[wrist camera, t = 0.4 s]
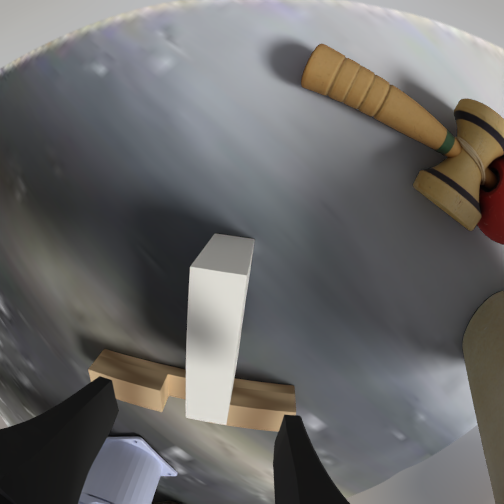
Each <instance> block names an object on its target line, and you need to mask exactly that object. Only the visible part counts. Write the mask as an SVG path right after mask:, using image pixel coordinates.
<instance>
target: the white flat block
mask: <svg viewBox="0 0 504 504" xmlns="http://www.w3.org/2000/svg"><path fill="white" fill-rule="evenodd" d="M254 241H255V239H250V238H243V237H237V236H230V235H223V234H216V233H215V234H214V235H213V236H212V238H211V239H210V240H209V242H208V243H207V244H206V246H205V247H204V248H203V250H202V251H201V253H200V254H199V255H198V257H197V258H196V259H195V261H194V262H193V263H192V265H191V266H190V277H189V294H188V314H187V342H186V418H191V419H196V420H201V421H206V422H212V423H218V424H224V425H226V424H227V418H228V412H229V406H230V401H231V395H232V389H233V383H234V377H235V372H236V366H237V359H238V352H239V345H240V338H241V329H242V322H243V315H244V308H245V301H246V294H247V289H248V283H249V276H250V269H251V262H252V255H253V248H254Z"/></svg>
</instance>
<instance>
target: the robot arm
mask: <svg viewBox="0 0 504 504" xmlns="http://www.w3.org/2000/svg"><path fill="white" fill-rule="evenodd" d="M118 411H119V410H118V406H117V401H116V397H115V392H114V387H113V382H112V380H110V379H107V378H104V377H101V376H99V377H98V378H96V379H95V380H93V381H92V382H91V383H89V384H88V385H86V386H85V387H84V388H82V389H81V390H79V391H78V392H76V393H75V394H74V395H72V396H71V397H69V398H68V399H66V400H65V401H63V402H62V403H60V404H58V405H57V406H55V407H53V408H52V409H50V410H48V411H46V412H45V413H43V414H41V415H39V416H37V417H35V418H32V419H30V420H28V421H25V422H22V423H20V424H17V425H14V426H11V427H8V428H4V429H0V504H151V503H152V500H153V497H154V494H155V491H156V488H157V485H158V482H159V479H160V476H177V472H176V471H175V470H174V469H173V468H172V467H171V466H170V465H169V464H168V463H167V462H165V461H164V460H163V459H162V458H161V457H160V456H159V455H158V454H157V453H156V452H155V451H154V450H153V449H152V448H151V447H150V446H149V445H148V444H147V443H146V442H145V441H144V440H143V439H142V438H141V437H138V436H136V437H108V435H109V433H110V431H111V429H112V427H113V424H114V422H115V419H116V416H117V414H118ZM273 469H274V489H275V504H350V503H349V502H348V501H347V500H346V498H345V497H344V496H343V495H342V493H341V492H340V491H339V489H338V488H337V487H336V485H335V484H334V483H333V481H332V480H331V478H330V477H329V475H328V473H327V472H326V470H325V468H324V467H323V465H322V463H321V461H320V460H319V458H318V456H317V454H316V452H315V450H314V448H313V446H312V443H311V441H310V439H309V437H308V434H307V432H306V429H305V427H304V424H303V421H302V418H301V417H300V416H297V415H285V414H284V417H283V420H282V423H281V426H280V429H279V432H278V435H277V438H276V440H275V446H274V460H273Z"/></svg>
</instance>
